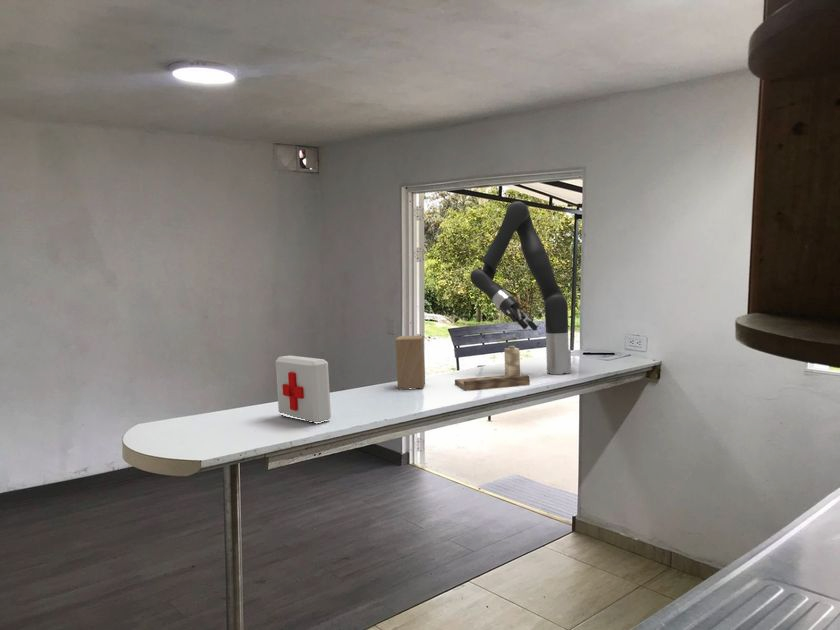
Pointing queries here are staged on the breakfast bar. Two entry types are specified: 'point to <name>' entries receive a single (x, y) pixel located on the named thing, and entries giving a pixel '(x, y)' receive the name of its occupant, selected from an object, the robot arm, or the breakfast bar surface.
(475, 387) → the board
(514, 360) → the mottled beige cylinder
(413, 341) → the wooden block
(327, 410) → the bevelled white case
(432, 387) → the breakfast bar surface
